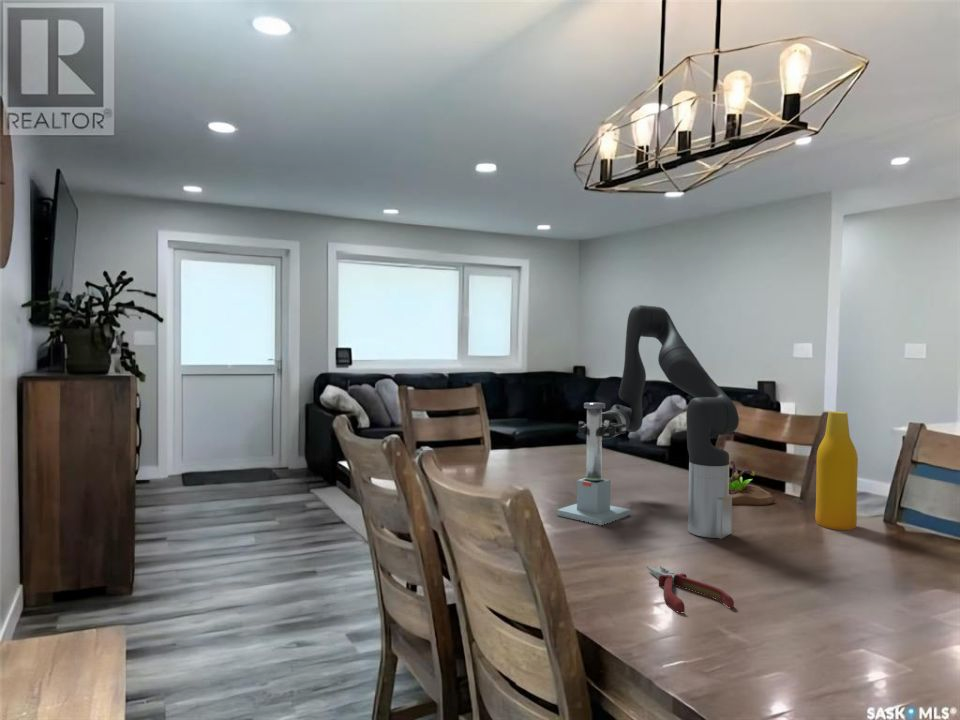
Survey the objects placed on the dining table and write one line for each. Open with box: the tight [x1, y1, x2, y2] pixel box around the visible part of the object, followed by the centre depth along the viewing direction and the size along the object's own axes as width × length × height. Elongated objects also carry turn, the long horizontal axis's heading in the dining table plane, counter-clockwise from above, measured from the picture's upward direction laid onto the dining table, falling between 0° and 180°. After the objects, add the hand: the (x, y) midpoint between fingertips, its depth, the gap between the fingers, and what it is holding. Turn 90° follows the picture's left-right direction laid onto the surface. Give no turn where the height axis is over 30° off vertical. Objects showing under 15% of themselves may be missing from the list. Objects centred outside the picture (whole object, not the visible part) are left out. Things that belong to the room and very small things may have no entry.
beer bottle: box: [814, 411, 859, 531], centre depth 161 cm, size 9×9×29 cm
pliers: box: [646, 565, 735, 613], centre depth 119 cm, size 12×20×3 cm, turn 11°
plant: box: [729, 459, 774, 506], centre depth 191 cm, size 20×20×11 cm
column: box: [583, 401, 606, 483], centre depth 169 cm, size 6×6×21 cm
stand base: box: [556, 477, 631, 526], centre depth 170 cm, size 14×14×10 cm
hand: (591, 431), depth 167 cm, fingers closed on column, 4 cm apart
